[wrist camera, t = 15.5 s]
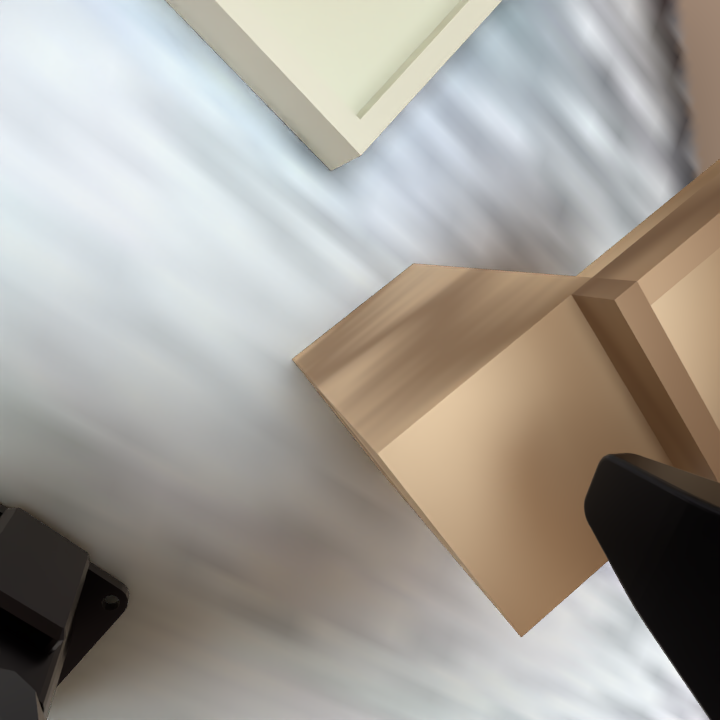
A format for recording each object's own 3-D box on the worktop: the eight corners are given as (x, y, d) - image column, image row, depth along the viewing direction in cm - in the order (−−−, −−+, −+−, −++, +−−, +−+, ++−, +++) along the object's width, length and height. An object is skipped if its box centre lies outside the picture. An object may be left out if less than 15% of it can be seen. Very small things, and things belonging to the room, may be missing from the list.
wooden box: (380, 471, 21) (554, 676, 11) (291, 359, 20) (399, 477, 10) (586, 302, 22) (919, 350, 12) (515, 183, 21) (828, 122, 11)
